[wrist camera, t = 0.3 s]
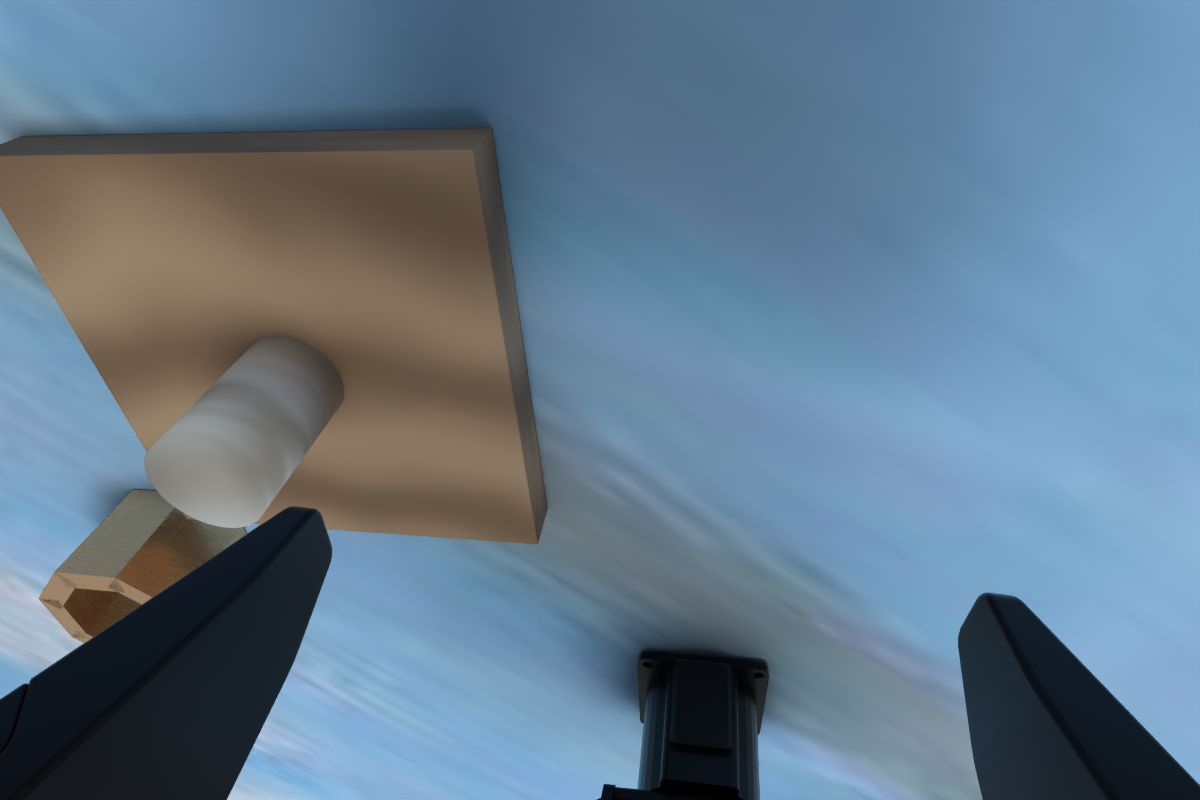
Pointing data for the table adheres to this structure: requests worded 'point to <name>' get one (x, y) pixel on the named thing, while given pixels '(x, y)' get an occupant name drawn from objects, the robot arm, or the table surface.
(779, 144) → the table surface
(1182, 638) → the table surface
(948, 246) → the table surface
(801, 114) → the table surface
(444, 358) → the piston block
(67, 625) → the brown octagonal cup
